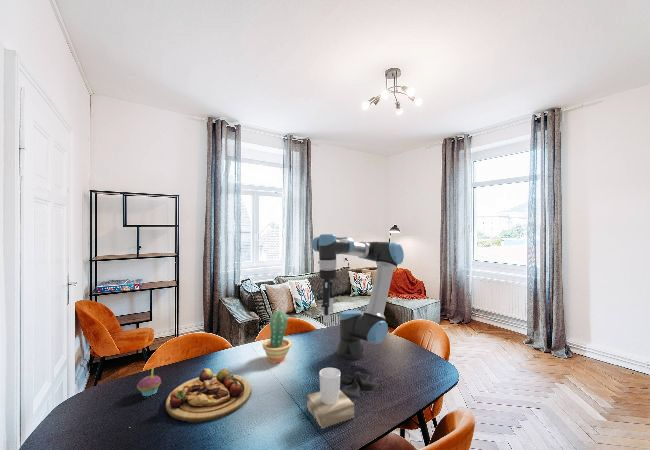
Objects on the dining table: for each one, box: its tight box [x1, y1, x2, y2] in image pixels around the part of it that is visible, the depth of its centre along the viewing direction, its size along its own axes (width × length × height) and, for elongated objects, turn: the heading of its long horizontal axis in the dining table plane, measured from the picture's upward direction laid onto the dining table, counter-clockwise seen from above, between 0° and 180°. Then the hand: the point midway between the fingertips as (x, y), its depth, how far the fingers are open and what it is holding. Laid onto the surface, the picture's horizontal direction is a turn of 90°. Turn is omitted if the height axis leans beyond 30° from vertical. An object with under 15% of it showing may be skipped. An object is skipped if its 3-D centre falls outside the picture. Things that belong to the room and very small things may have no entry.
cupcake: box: [136, 367, 162, 397], centre depth 119 cm, size 9×8×12 cm
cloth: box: [340, 371, 380, 399], centre depth 127 cm, size 22×19×6 cm
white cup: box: [318, 367, 341, 405], centre depth 107 cm, size 8×8×10 cm
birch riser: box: [306, 389, 355, 430], centre depth 107 cm, size 13×13×5 cm
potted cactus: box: [262, 309, 292, 364], centre depth 152 cm, size 15×16×25 cm
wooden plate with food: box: [165, 367, 252, 423], centre depth 117 cm, size 32×32×8 cm
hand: (328, 317), depth 127 cm, fingers open, 13 cm apart
